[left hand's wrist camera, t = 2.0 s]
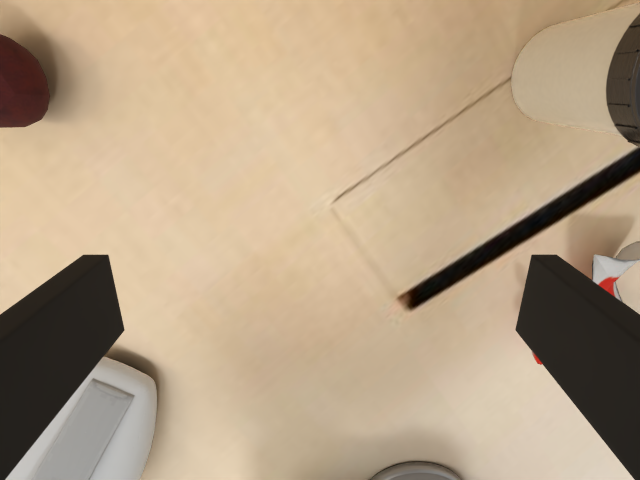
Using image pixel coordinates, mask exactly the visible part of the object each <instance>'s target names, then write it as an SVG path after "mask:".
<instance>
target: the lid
mask: <svg viewBox="0 0 640 480" xmlns="http://www.w3.org/2000/svg"><path fill="white" fill-rule="evenodd" d="M606 102H607V107H608V111H609V114H610V117H611V120H612V122H613V123H614V126H615V127H616V128H617V130H618V131H619V132H620V133H621V135H622V136H623V137H625V138H626V139H627V140H628V142H631V143H633V144H634V145H636V146H638V147H640V13H639V15H638V16H637V17H636V18H635V19H634V20H633V22H632V23H631V24H630V25H629V26H628V29H627V30H626V31H625V33H624V34H623V36H622V38H621V40H620V42H619V43H618V45H617V48H616V50H615V52H614V54H613V57H612V60H611V63H610V66H609V70H608V75H607V81H606Z"/></svg>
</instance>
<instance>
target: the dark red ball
mask: <svg viewBox="0 0 640 480" xmlns="http://www.w3.org/2000/svg"><path fill="white" fill-rule="evenodd" d="M49 98H50V95H49V90H48V85H47V79H46V76H45V74H44V72H43V70H42V68H41V66H40V64H39V62H38V60H37V59H36V58H35V57H34V56H33V55H32V54H31V53H30V52H29V51H28V50H27V49H25V48H24V47H22V46H21V45H19V44H18V43H16V42H15V41H13V40H12V39H10V38H8V37H6V36H3V35H0V128H1V127H26V126H28V125H31V124H33V123H35V122H37V121H39V120H41V119H42V118H43V116H44V115H45V113H46V112H47V110H48V104H49Z"/></svg>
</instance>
